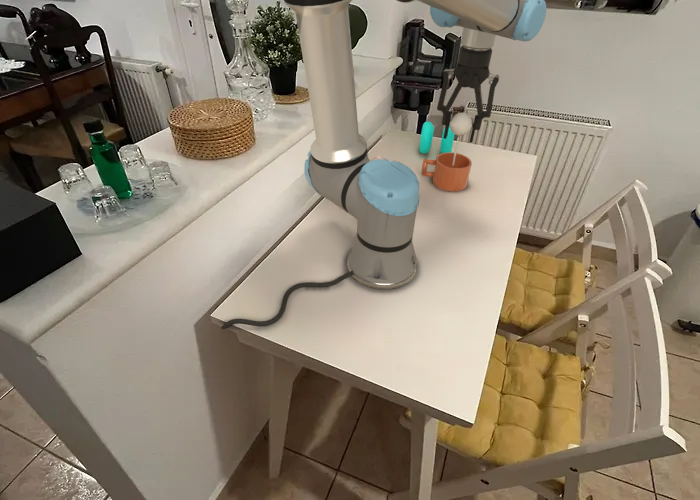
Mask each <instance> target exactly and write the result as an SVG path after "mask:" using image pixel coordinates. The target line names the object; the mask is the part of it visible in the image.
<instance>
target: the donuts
mask: <svg viewBox="0 0 700 500" xmlns="http://www.w3.org/2000/svg"><path fill="white" fill-rule="evenodd" d="M434 132H435V126H434V124H433V123H432V122H431V121H429V120H428V121H425V122H424V123H423V124H422V127H421V133H420V137H419V146H418V147H419V148H418V151H419V153H420V154H422V155H426V154H428V153H429V152H430V150H431V148H432V145H433V138H434V134H435V133H434ZM444 132H445V127H444V128H443V130H442V135H441V140H440V146H439V152H440V154H442V153H452V151H453V146H454V141H455V140H454V139H455V136H456V135H455V134H454V133H453V132H452V131H451V129H450V125H449V130H448V135H447V138H446V139H445V138H443V137H444Z"/></svg>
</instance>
